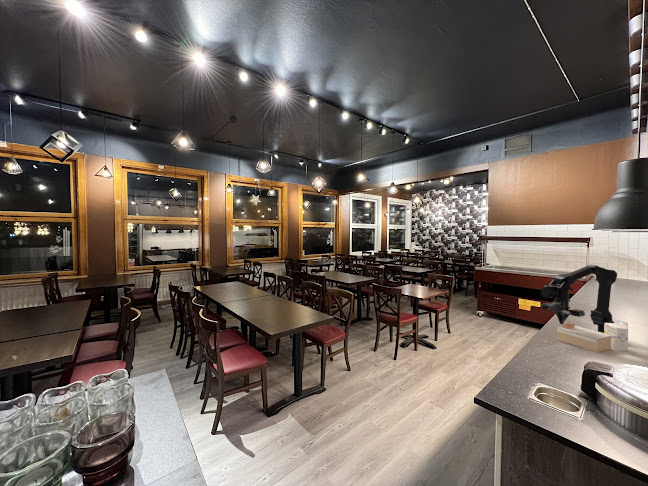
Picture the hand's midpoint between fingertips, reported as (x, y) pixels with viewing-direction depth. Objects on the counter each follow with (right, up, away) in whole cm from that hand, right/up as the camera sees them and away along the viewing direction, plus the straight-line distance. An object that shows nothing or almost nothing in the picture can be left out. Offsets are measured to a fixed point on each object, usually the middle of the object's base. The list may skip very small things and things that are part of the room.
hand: (561, 324), depth 154 cm
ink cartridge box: (+16, -8, -14) cm, 23 cm away
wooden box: (+3, -8, -9) cm, 13 cm away
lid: (+3, -3, -9) cm, 10 cm away
